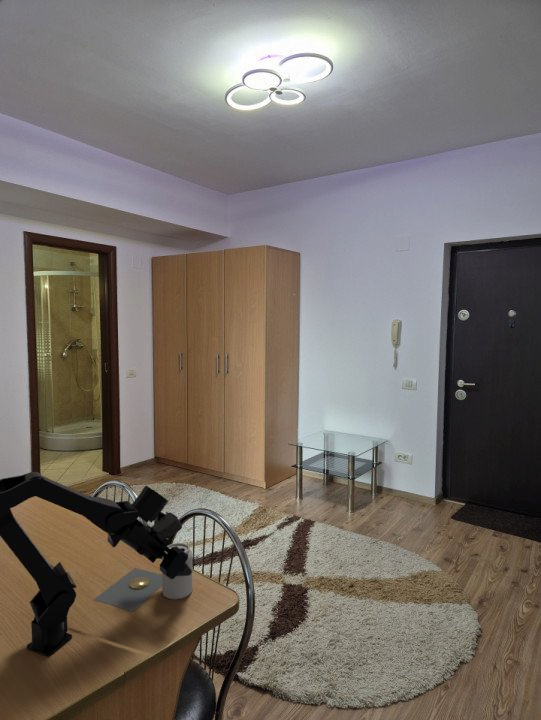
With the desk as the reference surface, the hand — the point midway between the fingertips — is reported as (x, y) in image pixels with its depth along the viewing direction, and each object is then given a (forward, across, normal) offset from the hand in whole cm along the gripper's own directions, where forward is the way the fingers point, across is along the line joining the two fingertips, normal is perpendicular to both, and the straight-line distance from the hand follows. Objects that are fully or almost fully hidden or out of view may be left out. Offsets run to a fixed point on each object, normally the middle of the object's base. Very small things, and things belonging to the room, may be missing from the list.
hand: (181, 565), depth 119 cm
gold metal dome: (-1, +9, +10) cm, 13 cm away
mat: (-2, +8, +11) cm, 14 cm away
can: (+4, 0, +6) cm, 7 cm away
